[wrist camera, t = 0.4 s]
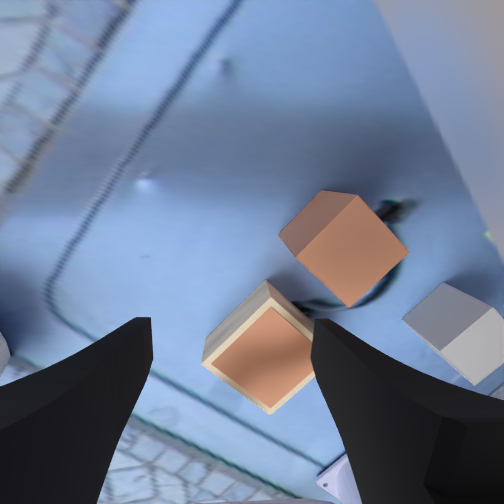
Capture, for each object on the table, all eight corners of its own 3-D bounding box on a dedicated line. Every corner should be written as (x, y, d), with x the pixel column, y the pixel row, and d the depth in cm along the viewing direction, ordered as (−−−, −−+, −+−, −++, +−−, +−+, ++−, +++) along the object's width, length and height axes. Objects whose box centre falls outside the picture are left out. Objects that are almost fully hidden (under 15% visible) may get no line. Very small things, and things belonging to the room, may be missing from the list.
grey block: (471, 313, 23) (526, 345, 19) (430, 348, 24) (474, 385, 19) (442, 281, 22) (493, 307, 18) (400, 318, 23) (440, 351, 18)
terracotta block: (360, 231, 20) (409, 252, 15) (317, 272, 21) (349, 308, 15) (320, 190, 19) (357, 194, 14) (277, 234, 20) (295, 257, 14)
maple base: (322, 330, 23) (338, 357, 19) (265, 381, 24) (270, 415, 20) (265, 278, 21) (270, 297, 18) (206, 335, 22) (201, 364, 19)
